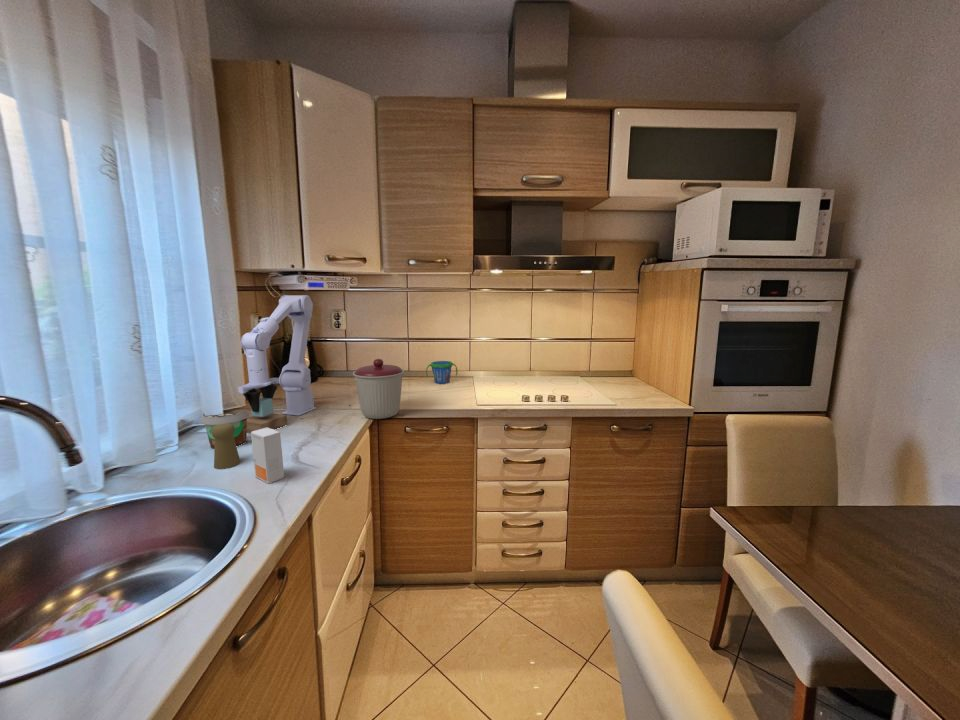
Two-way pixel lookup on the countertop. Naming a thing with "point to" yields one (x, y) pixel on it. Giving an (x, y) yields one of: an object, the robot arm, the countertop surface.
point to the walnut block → (266, 422)
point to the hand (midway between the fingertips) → (261, 409)
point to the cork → (225, 446)
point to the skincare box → (267, 455)
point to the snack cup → (441, 371)
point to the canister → (379, 389)
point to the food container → (235, 419)
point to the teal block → (264, 407)
